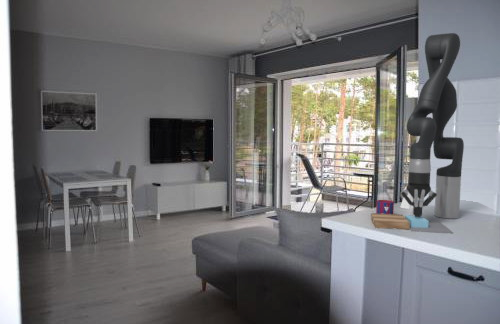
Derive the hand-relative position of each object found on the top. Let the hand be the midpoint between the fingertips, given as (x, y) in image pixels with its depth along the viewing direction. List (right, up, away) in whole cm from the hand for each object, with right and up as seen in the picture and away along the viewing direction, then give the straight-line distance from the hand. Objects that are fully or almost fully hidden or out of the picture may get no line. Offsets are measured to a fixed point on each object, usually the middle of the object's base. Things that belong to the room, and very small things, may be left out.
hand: (417, 216), depth 147 cm
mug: (-7, -2, +16) cm, 18 cm away
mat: (+3, -4, -1) cm, 5 cm away
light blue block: (0, -3, 0) cm, 3 cm away
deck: (-10, -3, +2) cm, 11 cm away
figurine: (+11, -1, +36) cm, 37 cm away
